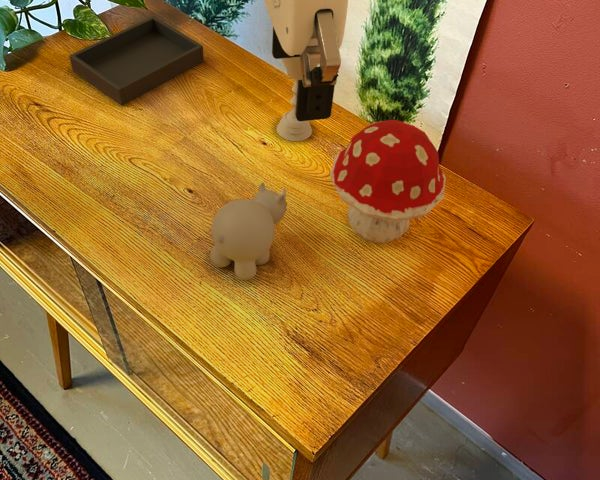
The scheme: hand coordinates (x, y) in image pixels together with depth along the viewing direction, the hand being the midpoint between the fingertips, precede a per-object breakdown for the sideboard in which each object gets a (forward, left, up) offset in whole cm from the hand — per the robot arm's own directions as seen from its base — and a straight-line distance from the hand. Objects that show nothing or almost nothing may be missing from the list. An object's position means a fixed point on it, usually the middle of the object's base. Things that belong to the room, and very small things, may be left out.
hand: (299, 85), depth 63 cm
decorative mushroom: (+12, +2, -23) cm, 26 cm away
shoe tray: (-14, +40, -23) cm, 48 cm away
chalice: (+6, +22, -23) cm, 32 cm away
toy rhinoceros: (-4, +1, -23) cm, 24 cm away
